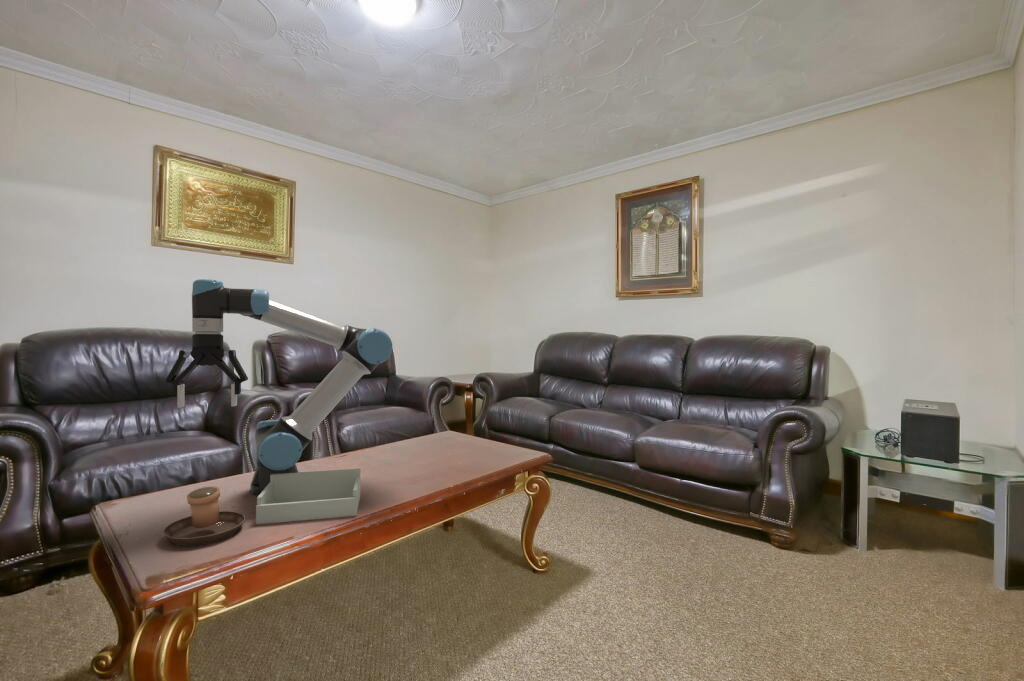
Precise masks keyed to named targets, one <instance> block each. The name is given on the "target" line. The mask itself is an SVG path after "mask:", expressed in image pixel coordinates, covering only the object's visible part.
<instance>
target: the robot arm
mask: <svg viewBox="0 0 1024 681" xmlns="http://www.w3.org/2000/svg"><path fill="white" fill-rule="evenodd" d="M191 308H192V309H191V311H192V314H191V316H192V319H191V322H192V324H191V325H192V327H191V329H192V330H191V331H192V332H193V333H194V334H192V335H191V338H192V339H191V340H192V342H191V343H192V344H191V347H192V348H191V350H187V349H181V350H179V351H178V357H177V360H176V361H175V363H174V365H173V366H172V369H171V370H170V372H169V374H168V375H167V377H166V379H165V383H169V384H172V385H173V396H175V397H177V402H176V403H177V404H176V405H177V406H176V407H177V409H182V408H184V407H185V405H186V404H185V403H186V398H185V395H186V392H185V391H186V390H185V389H186V388H185V387H186V384H185V383H183V382H184V381H185V380H186V378H188V376H189V375H191V374H192V372H193V371H194V370H196V368H197V367H199V366H203V367H204V366H208V367H209V366H210V367H211V366H217V367H218V368H219V369H220V370H221V371H223V373H224V374H225V375H226V376H228V378H229V379H230V380H231V381H232V382H233V383H231V384H230V385H231V386H230V390H231V391H230V399H231V400H230V401H231V402H230V404H231V405H230V406H231V407H236V406H238V395H241V393H242V383H245V382H246V381H248V380H249V377H248V376H247V374H246V372H245V370H244V368H243V367H242V365H241V363H240V361H239V359H238V357H237V353H236V350H235V349H231V350H225V349H224V335H223V334H222V333H223V332H224V314H235V315H236V314H237V315H238V314H239V315H241V316H243V317H249V318H252V319H254V320H257V321H261V322H264V323H266V324H269V325H272V326H275V327H279V328H281V329H284V330H286V331H289V332H293V333H296V334H299V335H301V336H304V337H307V338H310V339H313V340H316V341H319V342H323V343H324V344H326V345H327V344H328V345H330V346H332V347H333V346H334V347H335V349H336V351H339V352H342V359H341V360H340V361H339V362H338V363H337V364H336V365H335V366H334V368H332V369H331V371H330V372H329V373H328V374H327V375H326V376H325V377H324V378H323V380H322V381H321V382H319V384H318V385H317V386H316V387H315V388H314V389H313V390H312V391H311V392H310V393H309V394H308V396H306V398H305V399H304V400H303V401H302V402H301V403H300V404H299V405H298V406H297V408H296V409H294V410H293V412H292V413H291V414H290V415H288V416H287V415H286V416H282V417H281V418H280V419H270V420H269V419H268V420H261V421H259V422H257V424H256V429H255V432H256V468H255V471H254V474H253V476H252V479H251V482H250V488H249V489H250V493H251V494H252V495H257V496H259V495H260V493H261V492H262V491H263V490H264V489H265V487H266V486H267V485H268V484H269V483H270V475H271V474H282V473H297V472H299V469H298V467H297V465H296V464H297V463H298V462H299V460H300V458H301V456H302V454H303V451H304V450H305V448H306V447H307V446H308V445H309V444H310V443H311V442H312V440H313V432H314V431H315V430H316V429H317V427H318V426H319V425H320V424H321V423H323V420H325V418H326V417H328V416H329V415H330V413H331V412H332V411H333V410H334V408H335V407H336V406H337V405H338V404H339V403H341V402H340V401H342V400H343V398H344V397H345V396H346V395H347V394H348V393H349V392H350V390H352V388H353V387H354V386H355V385H356V384H357V383H358V381H359V380H360V379H361V378H362V377H363V376H364V375H371V374H372V372H373V371H374V370H375V369H376V368H377V367H378V366H379V365H381V364H383V363H384V362H386V361H387V360H388V359H390V356H391V355H392V352H393V341H392V338H391V337H390V336H389V334H388V333H386V331H384V330H381V329H380V328H376V327H373V328H372V327H371V328H359V327H354V326H351V325H349V324H345V325H340V324H337V323H334V322H332V321H329V320H326V319H323V318H321V317H317V316H316V315H312V314H309V313H307V312H305V311H301V310H298V309H296V308H293V307H290V306H288V305H285V304H281V303H280V302H278V301H277V302H276V301H274V300H271V299H270V293H269V291H268V290H265V289H258V288H253V289H252V288H232V287H231V288H230V287H225V285H224V283H223V281H221V280H216V279H200V278H199V279H195V280H194V281H193V282H192V292H191ZM190 356H191V358H192V359H193V360H192V361H191V362H190V363H189V365H188V366H187V367H186V368H185V369H184V370H182V368H183V366H184V365H185V362H186V361H187V359H188V358H189V357H190ZM224 356H226V358H228V359H229V361H230V363H231V364H232V366H233V369H234V370H235V371H236V373H235V372H234V371H233V370H232V369H231V368H230V366H228V364H227V363H226V362H225V361H224V359H223V358H224ZM181 370H182V372H181ZM180 372H181V373H180ZM179 373H180V374H179Z"/></svg>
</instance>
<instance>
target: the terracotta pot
mask: <svg viewBox="0 0 1024 681" xmlns="http://www.w3.org/2000/svg"><path fill="white" fill-rule="evenodd" d="M220 497H221V490H220V487H217V486H212V485H211V486H204V487H200V488H196V489H194V490H192V491H191V492H188V494H187V496H186V501H187V504H188V505H189V506H190V507H189V508H190V516H191V517H192V526H193V527H195V528H204V527H208V526H211V525H213V524H215V523H217V522H218V521H219V520H220V513H219V512H220V506H219V505H220V504H219V498H220Z"/></svg>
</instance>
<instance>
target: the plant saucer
mask: <svg viewBox="0 0 1024 681" xmlns="http://www.w3.org/2000/svg"><path fill="white" fill-rule="evenodd" d="M219 513H220V520H219V521H218V522H221V523H222V524H221V523H218V522H217V523H218V524H216V523H215V524H213V525H211V526H208V527H204V528H195V527H193V526H192V517H191V515H190V516H187V517H184V518H181V519H177V520H176V521H173V522H171V523H170V524H168V525H166V527H165V528H164V529H163V530H162V533H163V536H164V537H165V538H166V539H167V540H168V541H170V542H171V543H172V544H173V545H174V544H175V545H177V546H181V545H183V547H191V546H192V545H195V546H201V545H200V544H202V545H207V544H211V543H210V542H212V543H215V542H218V541H222V540H224V539H226V538H228V537H230V536H232V535H234V533H236V532H237V531H238V530H240V529H239V528H240V527H241V526H242V525H243V523H244V522H245V519H246V516H245V515H244V514H243V513H240V512H238V511H228V510H225V511H224V510H223V511H222V510H221V511H220V510H219ZM223 522H224V523H223ZM220 524H221V525H220ZM218 525H219V526H218ZM223 538H224V539H223ZM214 541H215V542H214ZM206 543H207V544H206ZM192 547H193V546H192Z"/></svg>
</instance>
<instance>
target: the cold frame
mask: <svg viewBox="0 0 1024 681" xmlns="http://www.w3.org/2000/svg"><path fill="white" fill-rule="evenodd" d="M360 499H361V468H349V469H348V468H347V469H333V470H331V469H330V470H316V471H315V470H313V471H303V472H300V471H298V472H297V473H282V474H271V475H270V483H269V484H268V485H267V486H266V487H265V489H264V490H263V491H262V492H261V493H260V495H257V497H256V506H255V525H265V524H275V523H276V524H277V523H286V522H288V523H289V522H298V521H308V520H309V521H310V520H311V521H312V520H322V519H323V520H324V519H335V518H344V517H356V516H357V515H358V509H359V504H360Z"/></svg>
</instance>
